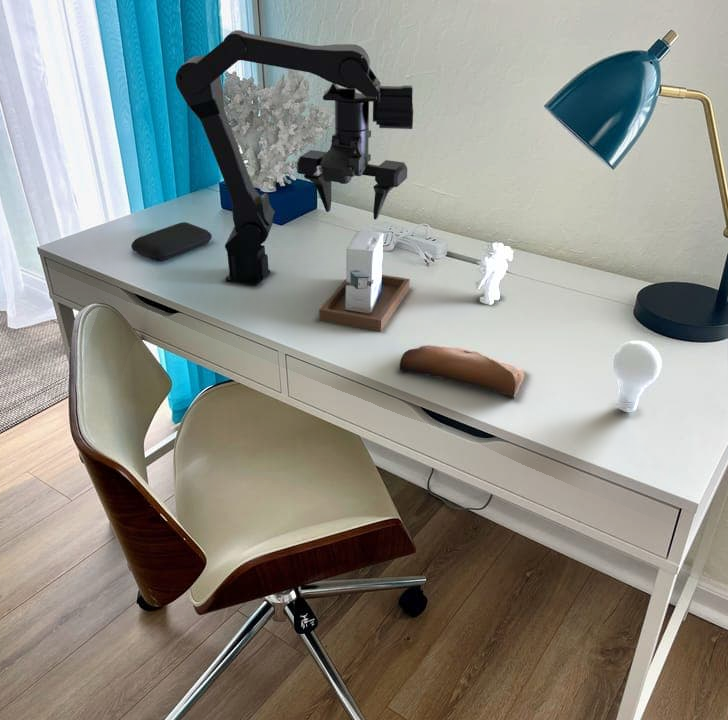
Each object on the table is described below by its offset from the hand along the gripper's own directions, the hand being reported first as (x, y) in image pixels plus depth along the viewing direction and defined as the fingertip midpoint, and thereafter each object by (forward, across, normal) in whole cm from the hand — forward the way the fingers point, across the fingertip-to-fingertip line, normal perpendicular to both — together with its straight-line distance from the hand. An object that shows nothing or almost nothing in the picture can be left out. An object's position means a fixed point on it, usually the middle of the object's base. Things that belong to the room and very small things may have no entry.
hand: (351, 215), depth 132 cm
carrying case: (+13, -40, 0) cm, 42 cm away
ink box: (+12, +6, -8) cm, 16 cm away
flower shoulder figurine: (+13, +26, +2) cm, 29 cm away
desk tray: (+13, +6, -8) cm, 16 cm away
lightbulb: (+13, +52, -24) cm, 59 cm away
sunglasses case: (+13, +28, -24) cm, 39 cm away
